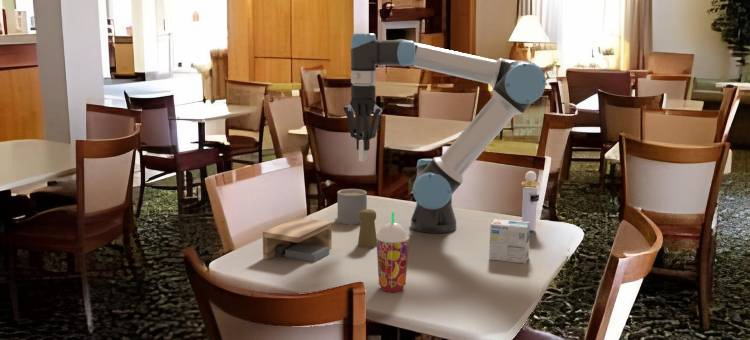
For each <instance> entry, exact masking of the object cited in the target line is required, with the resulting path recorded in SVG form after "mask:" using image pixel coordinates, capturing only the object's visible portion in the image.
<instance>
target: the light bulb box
mask: <svg viewBox="0 0 750 340" xmlns="http://www.w3.org/2000/svg"><path fill="white" fill-rule="evenodd" d="M489 227H490V228H489V230H490V231H489V255H488V256H489V258H488V260H490V261H491V260H492V261H500V262H510V263H519V264H526V263H527V261H528V260H529V256H530V238H531V237H530V236H531V235H530V234H531V233H530V232H531V231H530V222H523V221H522V220H509V219H508V220H507V219H497V218H494V219H493V221H492V222H491V223H490V226H489Z"/></svg>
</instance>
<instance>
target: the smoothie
mask: <svg viewBox="0 0 750 340" xmlns="http://www.w3.org/2000/svg"><path fill="white" fill-rule="evenodd" d="M376 241H377V246H376V257H377V272H378V273H377V274H378V275H377V276H378V285H379V286H380V289H381V290H382V291H384V292H387V291H388V293H397V291H398V292H401V291H403V289H404V286H405V285H406V284H407V269H408V256H409V244H410V235H409V234H408V232H407V230H406V228H405V227H404V226H403V225H402V224H400V223H398V222H395V212H394V211H391V221H390V222H388V223H386V224H384V225H382V227H380V229H379V230H378V233H376Z"/></svg>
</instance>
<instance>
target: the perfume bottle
mask: <svg viewBox="0 0 750 340" xmlns="http://www.w3.org/2000/svg"><path fill="white" fill-rule="evenodd" d="M524 176H525V177H524V178H525V180H523V181H521V185H522V186H524V187H523V189H522V204H521V205H522V206H521V208H522V209H521V210H522V211H521V221H523V222H530V232H531V231H535V230H536V226H537V224H536V223H537V203H538V201H540V200H539V199H540V194H538V188H536V187H539V186H540V184H541V183H540V182H539V181H536V180H537V173H536V172H535V171H534V170H533V171H532V170H529V171H527V172H526V173H525V174H524Z"/></svg>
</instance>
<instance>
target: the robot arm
mask: <svg viewBox="0 0 750 340" xmlns="http://www.w3.org/2000/svg"><path fill="white" fill-rule="evenodd" d="M376 66H402V67H406V66H409V67H412V68H413V67H414V68H418V69H422V70H426V71H431V72H435V73H440V74H444V75H449V76H453V77H458V78H461V79H462V78H463V79H467V80H470V81H471V80H472V81H474V82H475V81H476V82H480V83H483V84H488V85H490V86H491V87H492V91H491V92H492V97H490V99H489V100H488V102H486V104H485V105H484V106H483V107H482V108H481V109H480V111H479V112H478V113H477V114H476V115H475V116H474V118H473V119H472V120H471V122H470V123H469V124H468V125H467V126H466V127H465V128H464V129H463V131H461V133H460V134H459V136H457V138H456V139H455V140H453V143H452V144H450V146H449V147H448V148H447V150H445V151H444V153H443V154H442V155H441V156H435V157H433V158H420V159H418V160H417V163H416V169H417V170H416V177H415V180H414V182H413V184H412V195H413V198H414V200H415V201H416V202H415V203H416V204H415V207H414V211H413V213H412V215H411V216H412V217H411V219H410V228H411V229H413V231H417V232H420V233H427V234H428V233H429V234H445V233H450V232H453V231H456V229H457V217H456V215H455V212H454V208H453V204H452V202H453V201H452V200H453V199H452V198H453V194H454V193H455V192H456V190H457V189H458V188H459V187H460V186H461V184H462V183H463V182H464V179H463V176H464V174H465V172H466V171H467V170H469V168H470V167H471V166H472V164H474V162H475V161H476V160H477V159H478V158H479V156H481V155H482V153H483V152H484V151H485V150H486V148H488V146H489V145H490V144H491V143H492V141H493V140H494V139H495V138H496V137H497V136H498V135H499V133H500V132H501V131H502V130H503V129H504V128H505V127H506V126H507V124H508V123H509V122H510V121H511V120H512V119H513V118H514V116H516V115H517V116H518V115H523V114H524V113H525V111H526V110H527V109H528V108H529V107H530V106H531V105H532V104H533V103H534V102H536V101H537V100H539V99H540V98H541V96H543V94H544V92H545V89H546V86H547V79H546V75H545V73H544V71H543V69H542V68H541V67H540V66H539V65H537V64H536V63H534V62H531V61H528V60H515V59H507V58H502V57H499V58H497V59H496V60H495V59H491V58H487V57H483V56H477V55H472V54H469V53H463V52H459V51H454V50H451V49H450V50H449V49H445V48H442V47H436V46H432V45H428V44H423V43H417V42H415V41H414V40H407V39H402V38H399V39H393V40H392V39H391V40H389V39H388V40H385V39H382V40H381V39H377V36H376V34H375V33H365V32H364V33H363V32H361V33H359V32H358V33H353V34H352V35H351V42H350V83H351V84H352V85H351V86H350V97H351V98H350V99H351V100H350V102H349V104H348V105H345V106H343V111H344V113H345V114H346V119H347V124H348V129H349V133H350V137H351V138H354V139H355V140H356V150H357V151H358V162H366V161H367V160H368V151H369V150H370V141H371V139H374V138H376V135H377V132H378V127H379V123H380V119H381V118H380V117H381V115H382V113H383V112H384V108H382V107H379V106H378V105H377V101H376V85H375V84H376V79H377V78H376V76H377V75H376V71H377V70H376ZM372 112H373V115H372ZM371 118H372V119H371Z"/></svg>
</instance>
